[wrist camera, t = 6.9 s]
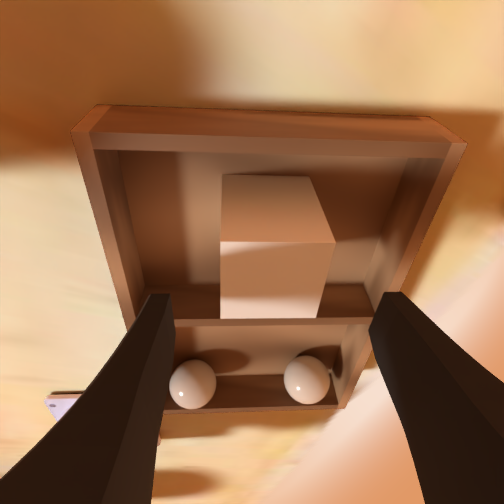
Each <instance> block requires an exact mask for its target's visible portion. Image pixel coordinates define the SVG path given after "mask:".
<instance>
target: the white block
mask: <svg viewBox="0 0 504 504" xmlns="http://www.w3.org/2000/svg"><path fill="white" fill-rule="evenodd" d="M335 245H336V242H335V239H334V237H333V234H332V232H331V229H330V227H329V224H328V222H327V219H326V217H325V215H324V212H323V210H322V207H321V205H320V202H319V200H318V197H317V195H316V192H315V190H314V187H313V185H312V182H311V180H310V178H309V177H308V176H270V175H233V174H222V194H221V235H220V319H246V318H316V315H317V312H318V308H319V304H320V300H321V297H322V293H323V289H324V286H325V282H326V278H327V274H328V271H329V267H330V263H331V260H332V256H333V252H334V248H335Z"/></svg>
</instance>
